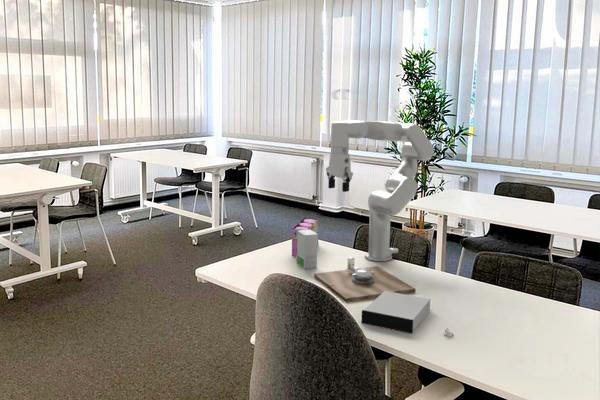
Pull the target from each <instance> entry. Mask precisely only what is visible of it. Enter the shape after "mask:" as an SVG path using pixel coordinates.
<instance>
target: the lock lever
mask: <svg viewBox="0 0 600 400" xmlns="http://www.w3.org/2000/svg"><path fill="white" fill-rule="evenodd" d="M347 269H348V270H351V271H353V272H354V274H352V277H354V278H355V279H356V280H360V281H368V280H371V279H372V275H374V272H373V271H372V270H370V269H367V268H366V267H357V266H355V257H354V256H348V257H347Z"/></svg>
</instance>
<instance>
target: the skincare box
mask: <svg viewBox="0 0 600 400" xmlns="http://www.w3.org/2000/svg"><path fill="white" fill-rule="evenodd" d="M318 246H319V233H318V234H317V233H315V232H314V231H312V230H310V229H309V230H300V231H298V240H297V257H296V265H298V266H299V267H300V268H301V269H303V270H308V269H315V268H317V262H318Z"/></svg>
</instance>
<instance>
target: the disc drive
mask: <svg viewBox="0 0 600 400" xmlns="http://www.w3.org/2000/svg"><path fill="white" fill-rule="evenodd" d="M430 310H431V298H427V297H423V296H422V297H421V296H416V295H410V294H400V293H394V292H388V291H384V292H383V293H382V294H381V295H380V296H378V297H377V298H374V300H373V301H372V302H371V303H369V304H368V306H366V307H365V308H364V309H362V310H361V319H360V320H361V322H360V323H361V324H364V323H365V325H369V326H374V327H378V326H379V328H383V327H384V328H383V329H388V328H389V330H392V329H393V330H394V331H397V332H403V333H407V334H411V335H412V334H413V333H414V331H415V329H416V328H417V327H418V326H419V325H420V323H421V322H422V321H423V320H424V318H425V317H426V316H427V314H428V313H429V312H430ZM393 330H392V331H393Z"/></svg>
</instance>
